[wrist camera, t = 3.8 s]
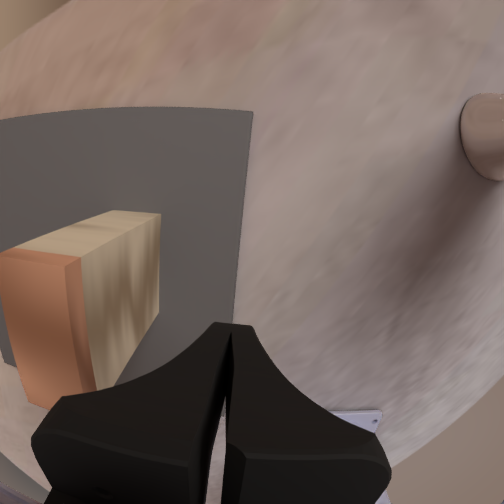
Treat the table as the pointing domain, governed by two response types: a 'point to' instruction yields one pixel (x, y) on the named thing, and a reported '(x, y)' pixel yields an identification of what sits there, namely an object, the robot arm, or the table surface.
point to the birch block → (80, 302)
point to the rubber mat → (137, 202)
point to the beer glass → (484, 134)
